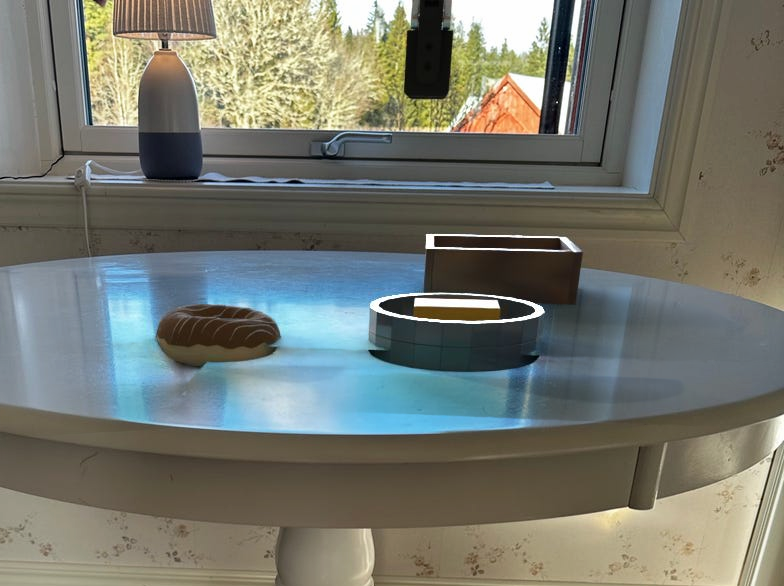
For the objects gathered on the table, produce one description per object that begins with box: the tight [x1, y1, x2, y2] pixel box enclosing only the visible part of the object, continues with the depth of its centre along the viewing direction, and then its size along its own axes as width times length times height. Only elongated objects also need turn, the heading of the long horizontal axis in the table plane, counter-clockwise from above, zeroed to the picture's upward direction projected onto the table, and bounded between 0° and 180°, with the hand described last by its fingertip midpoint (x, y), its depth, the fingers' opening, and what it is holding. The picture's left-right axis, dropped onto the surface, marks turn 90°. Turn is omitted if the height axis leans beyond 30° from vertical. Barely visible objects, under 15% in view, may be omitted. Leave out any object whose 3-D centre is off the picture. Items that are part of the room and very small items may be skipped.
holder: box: [422, 233, 584, 306], centre depth 104 cm, size 16×14×7 cm
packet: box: [414, 298, 500, 322], centre depth 81 cm, size 7×4×4 cm, turn 83°
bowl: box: [367, 292, 546, 373], centre depth 81 cm, size 14×14×4 cm
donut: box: [155, 303, 282, 367], centre depth 81 cm, size 11×11×4 cm
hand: (426, 97), depth 72 cm, fingers open, 9 cm apart
